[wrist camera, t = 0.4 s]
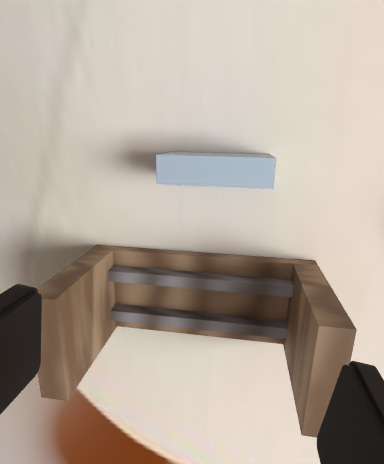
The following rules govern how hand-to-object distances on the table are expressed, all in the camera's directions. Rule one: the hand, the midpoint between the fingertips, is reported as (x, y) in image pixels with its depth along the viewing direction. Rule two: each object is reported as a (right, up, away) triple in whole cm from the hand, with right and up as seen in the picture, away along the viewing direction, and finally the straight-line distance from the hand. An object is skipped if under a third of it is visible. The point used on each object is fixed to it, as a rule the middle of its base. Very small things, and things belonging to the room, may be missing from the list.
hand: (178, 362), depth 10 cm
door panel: (+4, +12, +30) cm, 32 cm away
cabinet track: (+1, -5, +35) cm, 35 cm away
